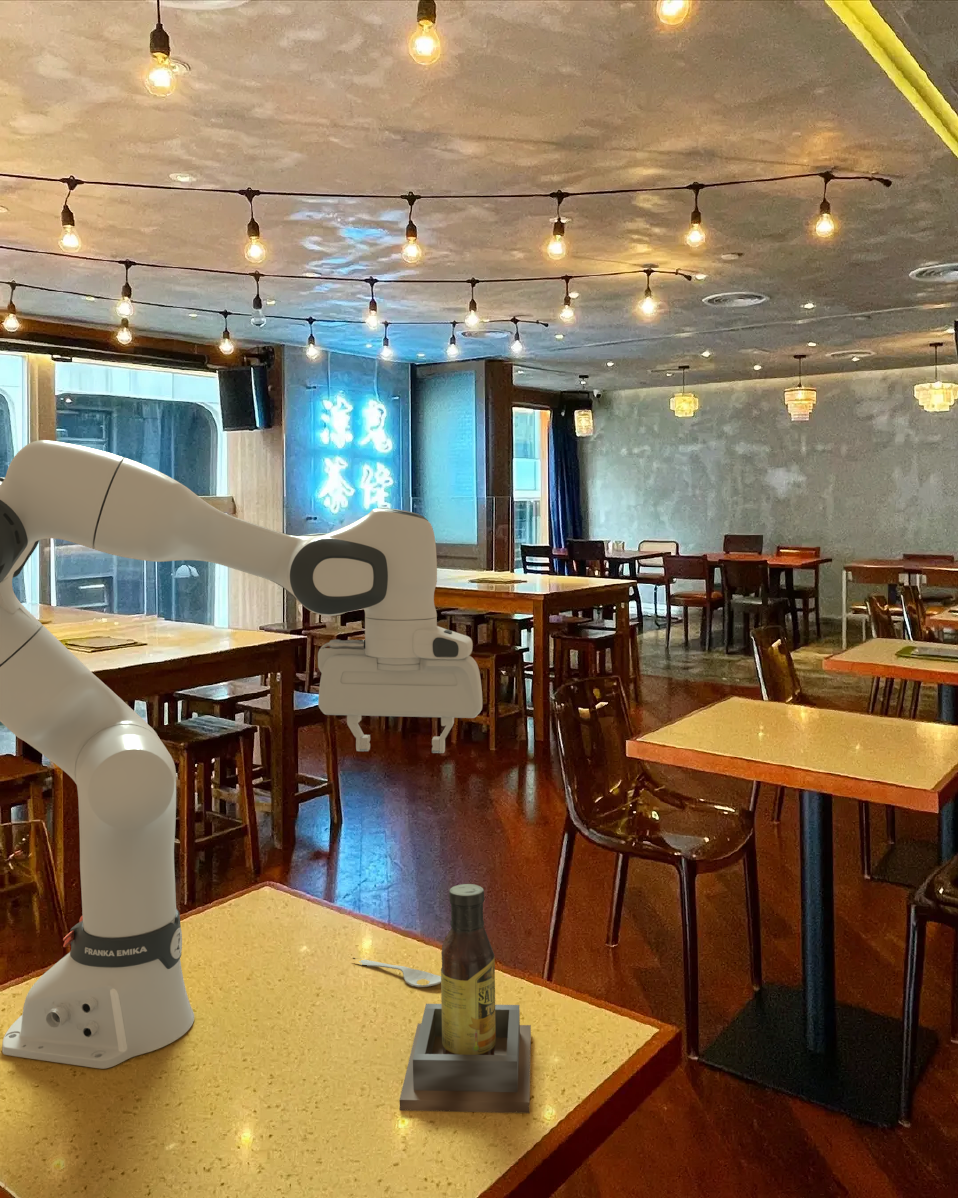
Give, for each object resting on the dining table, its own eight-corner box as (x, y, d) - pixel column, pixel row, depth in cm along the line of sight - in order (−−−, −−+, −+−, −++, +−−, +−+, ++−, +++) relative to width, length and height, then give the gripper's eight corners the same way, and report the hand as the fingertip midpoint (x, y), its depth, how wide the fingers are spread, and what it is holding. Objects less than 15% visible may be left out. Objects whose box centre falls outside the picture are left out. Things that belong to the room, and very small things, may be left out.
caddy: (399, 1110, 105) (398, 1068, 105) (418, 1032, 121) (417, 996, 121) (529, 1113, 104) (528, 1071, 104) (530, 1034, 120) (530, 998, 120)
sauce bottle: (490, 1075, 110) (487, 903, 108) (436, 1069, 111) (432, 899, 109) (500, 1044, 116) (498, 881, 114) (449, 1039, 117) (446, 878, 116)
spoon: (434, 998, 131) (434, 986, 131) (320, 961, 142) (320, 950, 142) (452, 985, 134) (452, 974, 134) (340, 951, 146) (339, 940, 146)
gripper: (311, 642, 118) (312, 755, 119) (480, 644, 116) (479, 759, 117) (323, 636, 124) (324, 743, 125) (484, 639, 122) (483, 747, 123)
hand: (400, 751), depth 121 cm, fingers open, 8 cm apart
